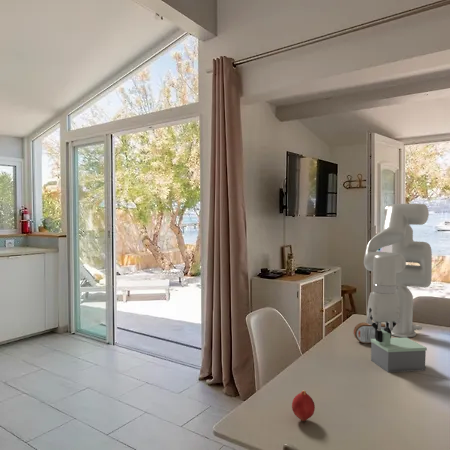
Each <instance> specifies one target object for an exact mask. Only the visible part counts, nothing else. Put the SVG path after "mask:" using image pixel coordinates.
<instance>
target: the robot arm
mask: <svg viewBox="0 0 450 450" xmlns="http://www.w3.org/2000/svg"><path fill="white" fill-rule="evenodd" d="M383 212H384V213H383V214H384V221H383V225H382V230H381V231H379V232H378V233H377V234H375V235H374V236H373V237H372V238H371V239H370V240H369V241H368V243H367V245H366V247H365V251H364V252H365V253H364V257H363V265H364V268H365V269H366V270H367V271H369V272H372V291H371V292H370V293H369V296H368V302H367V311H366V317H367V318H366V319H365V323H368V324H370V325H372V326H373V327H374V329H375V338H376V340H377V341H379V342H382V331H381V323H384V324H385V327H386V328H384V331H386V332H388V333H390V334H391V335H390V339H391V338H392V336H393V337H397V338H406V337H407V338H414V337H415V336H417V332H416V331H417V330H418V331H420V330H421V331H422V330H423V326H422V325H420V324H419V325H417V324H413V317H414V316H413V311H414V307H413V306H414V305H413V304H414V295H413V293H412V291H411V290H410V288H408V287H415V288H428V287H430V285H431V283H432V279H433V278H432V275H433V274H432V270H433V268H432V267H433V263H432V262H433V260H432V259H433V258H432V256H433V254H432V253H433V252H432V247H431V245H430V244H429V243H428V242H426V241H417V240H416V241H415V240H414V239H413V238H414V235H413V234H414V230H413V228H412V226H413V225H417V226H418V225H419V226H422V225H424V224H426V223H427V221H428V219H429V216H430V214H429V213H430V212H429V208H428V206H427V204H424V203H393V204H388V205H386V206H385V207H384V209H383ZM411 225H412V226H411ZM388 246H391V252H388V251H379V249H383V248H386V247H388ZM407 263H413V264H407ZM414 263H416V264H417V265H415V264H414Z"/></svg>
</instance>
